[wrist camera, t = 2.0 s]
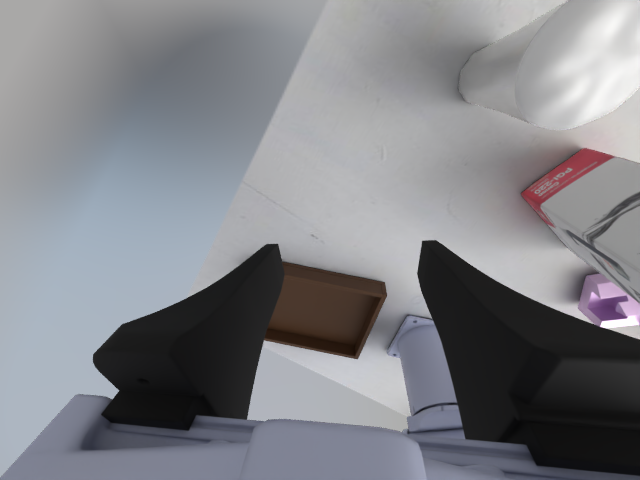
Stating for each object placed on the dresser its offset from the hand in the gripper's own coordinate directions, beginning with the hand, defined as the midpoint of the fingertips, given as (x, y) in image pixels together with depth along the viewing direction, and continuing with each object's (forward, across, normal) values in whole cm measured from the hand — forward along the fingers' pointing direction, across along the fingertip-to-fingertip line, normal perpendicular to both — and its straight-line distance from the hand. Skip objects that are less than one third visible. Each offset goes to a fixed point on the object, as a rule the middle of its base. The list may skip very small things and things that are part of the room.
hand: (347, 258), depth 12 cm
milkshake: (+10, -10, -7) cm, 16 cm away
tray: (+10, +5, +15) cm, 19 cm away
